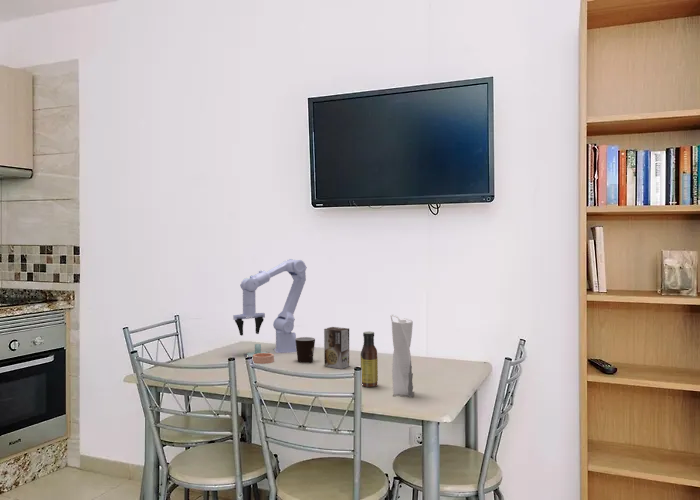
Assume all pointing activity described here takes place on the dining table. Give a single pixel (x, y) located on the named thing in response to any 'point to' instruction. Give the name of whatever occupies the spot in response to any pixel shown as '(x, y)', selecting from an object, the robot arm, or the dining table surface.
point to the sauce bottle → (369, 361)
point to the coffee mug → (305, 349)
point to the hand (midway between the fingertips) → (249, 334)
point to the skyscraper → (402, 358)
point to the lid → (256, 350)
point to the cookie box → (336, 347)
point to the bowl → (263, 358)
